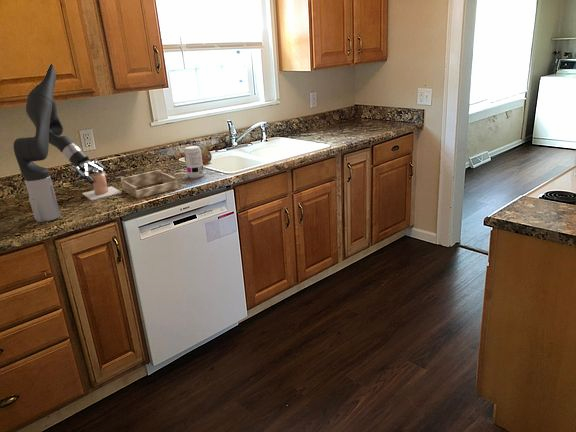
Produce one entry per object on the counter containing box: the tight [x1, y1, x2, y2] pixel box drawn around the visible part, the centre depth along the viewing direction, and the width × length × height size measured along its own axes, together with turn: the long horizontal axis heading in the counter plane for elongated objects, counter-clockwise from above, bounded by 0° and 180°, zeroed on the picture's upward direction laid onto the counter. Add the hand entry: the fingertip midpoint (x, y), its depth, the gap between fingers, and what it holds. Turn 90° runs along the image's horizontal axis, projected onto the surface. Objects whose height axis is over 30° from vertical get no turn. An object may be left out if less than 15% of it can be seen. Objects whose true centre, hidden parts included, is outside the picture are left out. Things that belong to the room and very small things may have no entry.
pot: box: [90, 171, 109, 194], centre depth 212 cm, size 6×6×9 cm
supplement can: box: [183, 145, 205, 179], centre depth 229 cm, size 8×8×15 cm
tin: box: [184, 148, 213, 165], centre depth 254 cm, size 15×3×8 cm, turn 106°
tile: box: [82, 186, 123, 202], centre depth 213 cm, size 14×14×1 cm
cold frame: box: [120, 169, 179, 200], centre depth 214 cm, size 20×18×6 cm
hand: (99, 180), depth 211 cm, fingers open, 8 cm apart
